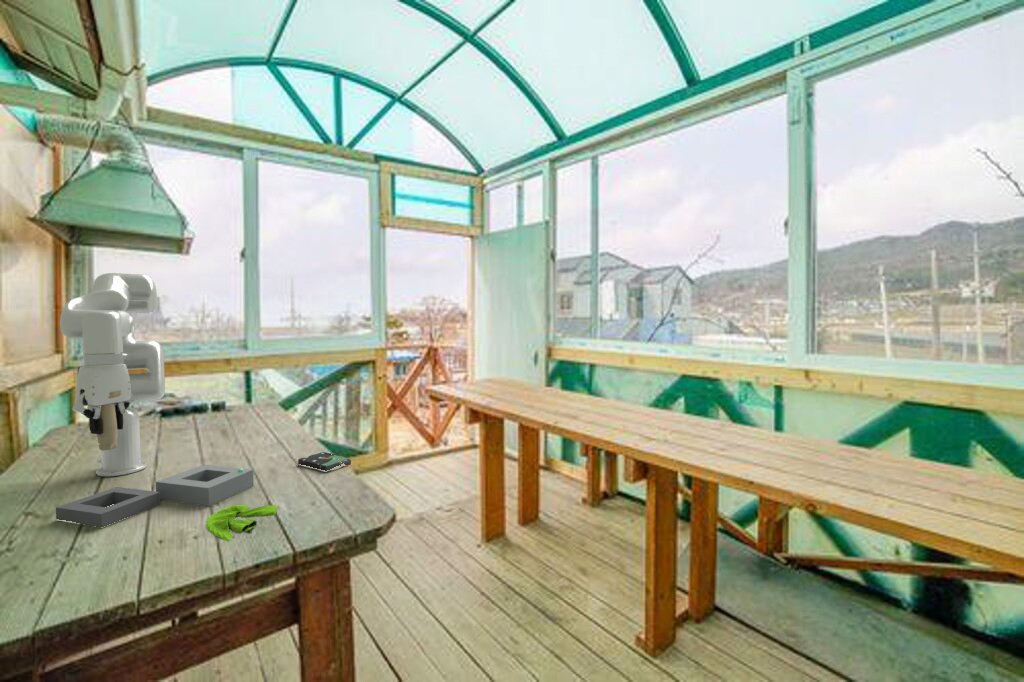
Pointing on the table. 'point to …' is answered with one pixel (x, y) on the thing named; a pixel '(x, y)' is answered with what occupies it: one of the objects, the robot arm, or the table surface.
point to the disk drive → (324, 461)
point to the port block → (205, 485)
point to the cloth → (225, 520)
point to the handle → (108, 425)
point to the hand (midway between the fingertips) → (107, 430)
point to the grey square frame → (99, 516)
